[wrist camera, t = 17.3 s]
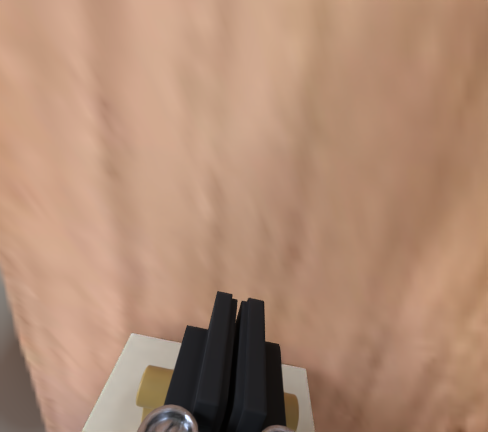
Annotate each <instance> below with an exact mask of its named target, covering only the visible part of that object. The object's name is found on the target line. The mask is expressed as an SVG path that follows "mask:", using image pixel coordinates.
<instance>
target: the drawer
mask: <svg viewBox="0 0 488 432" xmlns="http://www.w3.org/2000/svg"><path fill="white" fill-rule="evenodd" d="M181 344H182V343H179V342H174V341H169V340H165V339H160V338H155V337H150V336H145V335H140V334H135V333H131V335H130V337H129V339H128V341H127V343H126V345H125V347H124V349H123V351H122V353H121V355H120V357H119V359H118V361H117V363H116V365H115V367H114V369H113V371H112V373H111V375H110V377H109V379H108V381H107V382H106V384H105V386H104V388H103V390H102V392H101V394H100V396H99V398H98V400H97V402H96V404H95V406H94V408H93V410H92V412H91V414H90V416H89V418H88V420H87V422H86V424H85V426H84V428H83V430H82V432H137V430H138V428H139V426H140V424H141V423H142V421H143V420H144V419H145V417H146V416H147V415H148V414H149V413H150V412H151V411H153V410H154V409H156V408H158V407H160V406H163V405H164V402H165V398H166V395H167V392H168V388H169V385H170V381H171V378H172V375H173V371H174V368H175V364H176V361H177V357H178V354H179V351H180V347H181ZM282 376H283V389H284V401H285V414H286V426H287V427H288V428H290V429H292V430H294V431H295V432H315V428H314V421H313V414H312V408H311V401H310V394H309V387H308V380H307V373H306V369H305V368H300V367H295V366H290V365H286V364H282Z"/></svg>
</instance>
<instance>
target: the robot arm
mask: <svg viewBox="0 0 488 432" xmlns="http://www.w3.org/2000/svg"><path fill="white" fill-rule="evenodd" d="M236 311H237V300H236V299H232V294H228V293H224V292H219V291H217V295H216V299H215V303H214V308H213V312H212V316H211V320H210V324H209V329H203V328H198V327H193V326H188V325H187V327H186V330H185V334H184V337H183V340H182V344H181V347H180V351H179V354H178V357H177V361H176V364H175V368H174V371H173V375H172V378H171V381H170V385H169V388H168V392H167V395H166V398H165V402H164V405H163V406H160V407H158V408H156V409H154V410H153V411H151V412H150V413H149V414H148V415H147V416H146V417H145V419H144V420H143V421H142V423H141V424H140V426H139V428H138V430H137V432H295V431H294V430H292V429H290V428H288V427H287V426H286V414H285V401H284V389H283V376H282V364H281V351H280V346H279V344H275V343H271V342H266V341H265V314H264V301H261V300H257V299H252V298H248V300H247V302H246V301H242V302H241V305H240V309H239V312H238V316H237V319H236ZM235 322H236V323H235Z"/></svg>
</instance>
